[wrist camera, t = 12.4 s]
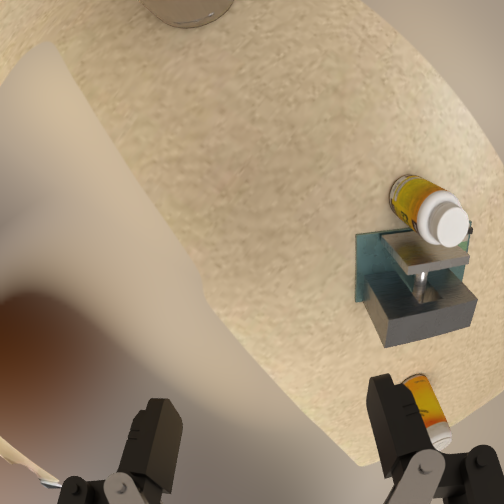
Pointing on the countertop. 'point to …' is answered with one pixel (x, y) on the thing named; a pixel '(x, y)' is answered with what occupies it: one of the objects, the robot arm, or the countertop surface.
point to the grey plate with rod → (422, 257)
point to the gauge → (409, 294)
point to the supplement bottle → (429, 210)
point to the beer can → (430, 411)
